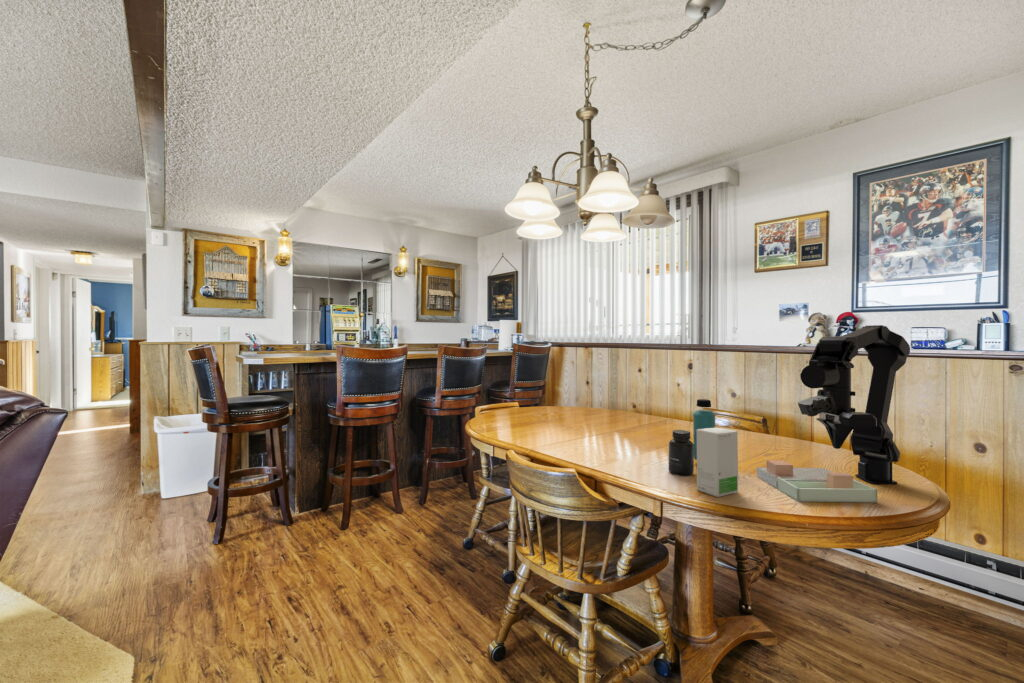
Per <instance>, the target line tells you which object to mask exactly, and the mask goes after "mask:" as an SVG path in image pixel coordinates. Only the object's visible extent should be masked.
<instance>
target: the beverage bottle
mask: <svg viewBox="0 0 1024 683" xmlns="http://www.w3.org/2000/svg"><path fill="white" fill-rule="evenodd" d="M696 407H697V408H699V407H700V408H711V407H712V402H711V400H710V399H706V398H702V399H701V398H700V399H697V400H696ZM692 416H693V419H692V420H693V431H692V432H693V433H692V434H693V435H692V443H693V444H694V461H697V432H696V430H697V429H705V428H716V414H715V412H713V411H712V410H709V409H696V410H695V411H694V412H693V413H692Z"/></svg>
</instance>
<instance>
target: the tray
mask: <svg viewBox="0 0 1024 683" xmlns="http://www.w3.org/2000/svg"><path fill="white" fill-rule="evenodd" d="M776 489H777V490H779V491H780V492H782V493H783V494H785V495H787V496H788V497H790V498H791V499H792V500H795V501H796V502H806V503H807V502H815V503H817V502H818V503H819V502H820V503H821V502H822V503H875V504H877V503H878V489H877V488H874V487H873V486H870V485H867V484H865V483H863V482H861V481H858V480H855V479H854V478H853V489H832V488H827V482H815V481H785V480H783V479H782V478H780V477H777V488H776Z"/></svg>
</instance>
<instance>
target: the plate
mask: <svg viewBox="0 0 1024 683" xmlns="http://www.w3.org/2000/svg"><path fill="white" fill-rule="evenodd" d="M827 472H832V473H835V472H834V471H831V470H829V469H826V468H824V467H793V474H774V473H772V472H771V471H769V470H767V466H765V467H763V466H762V467H760V466H759V467H756V477H757V478H759V479H761V480H762V481H764V482H765V483H767V484H769V485H771V486H772V487H773V488H775V489H777V477H780V478H782V479H783V480H785V481H815V482H827Z"/></svg>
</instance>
